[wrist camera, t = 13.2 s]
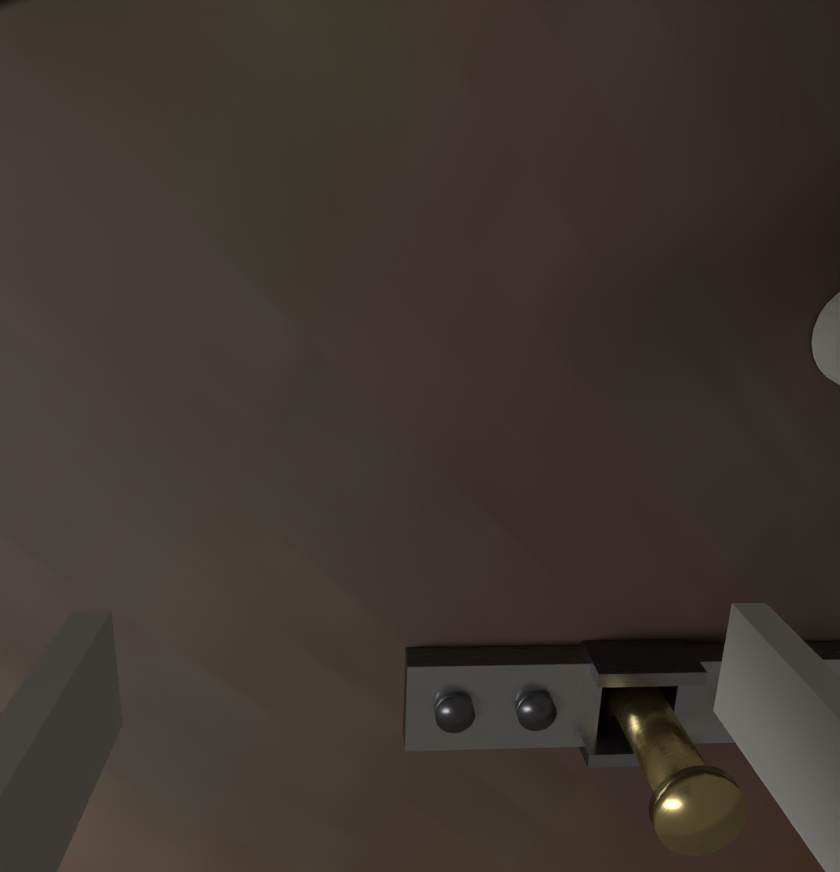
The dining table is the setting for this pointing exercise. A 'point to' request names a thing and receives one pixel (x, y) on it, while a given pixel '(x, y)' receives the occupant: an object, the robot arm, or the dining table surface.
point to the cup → (828, 340)
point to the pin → (678, 776)
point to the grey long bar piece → (559, 694)
